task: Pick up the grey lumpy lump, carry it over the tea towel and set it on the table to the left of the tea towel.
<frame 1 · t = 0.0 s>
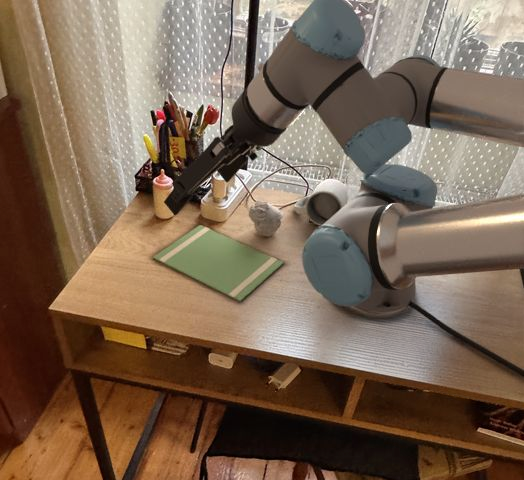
hand: (197, 191, 89), 15 cm above the table, tool tilted 35°, fingers open, 13 cm apart
ceramic mug: (318, 216, 115), on the table
tea towel: (218, 261, 102), on the table
grey lumpy lump: (264, 234, 109), on the table
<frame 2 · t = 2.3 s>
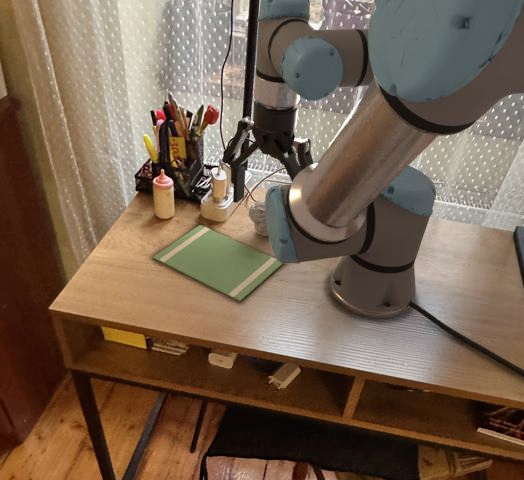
hand: (266, 212, 105), 5 cm above the table, tool pointing down, fingers open, 13 cm apart
nothing on the table moved.
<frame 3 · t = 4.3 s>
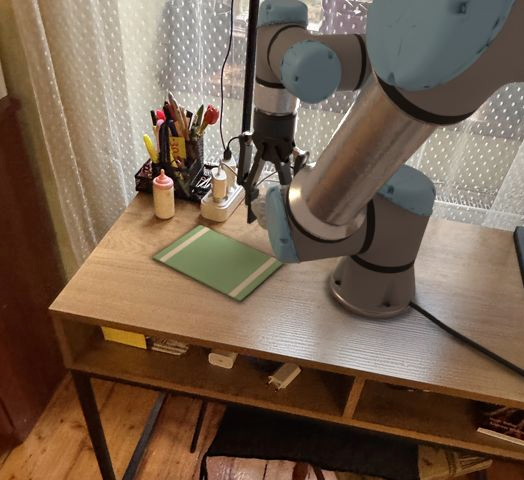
hand: (267, 226, 107), 2 cm above the table, tool pointing down, fingers closed on grey lumpy lump, 6 cm apart
grey lumpy lump: (267, 229, 107), point 2 cm above the table, touching gripper
everything else where it was.
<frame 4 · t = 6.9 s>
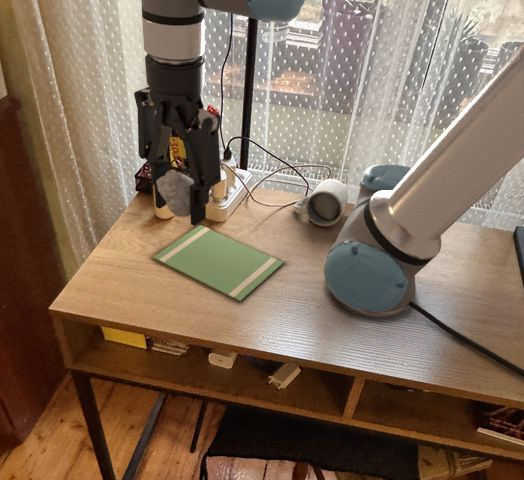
hand: (180, 212, 85), 15 cm above the table, tool pointing down, fingers closed on grey lumpy lump, 6 cm apart
grey lumpy lump: (181, 215, 86), point 14 cm above the table, touching gripper
everything else where it was.
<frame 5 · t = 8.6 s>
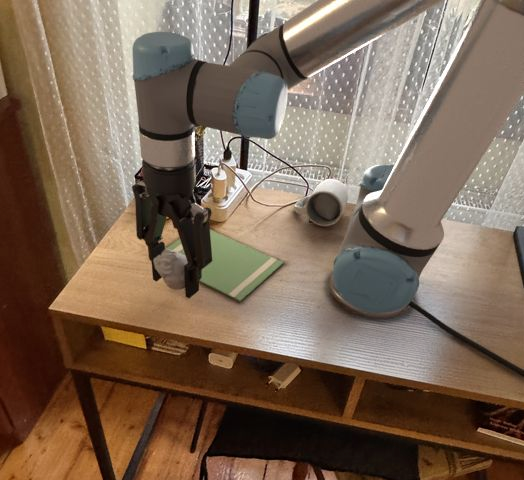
hand: (175, 284, 93), 2 cm above the table, tool pointing down, fingers closed on grey lumpy lump, 6 cm apart
grey lumpy lump: (176, 287, 93), point 1 cm above the table, touching gripper
everything else where it was.
when the fingers open (0 cm above the table, at t = 9.5 s): grey lumpy lump stays where it is, on the table.
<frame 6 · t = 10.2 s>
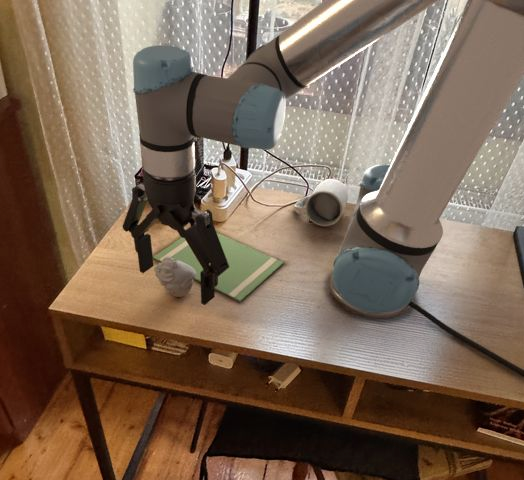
hand: (176, 284, 93), 2 cm above the table, tool pointing down, fingers open, 13 cm apart
grey lumpy lump: (177, 294, 95), on the table
everything else where it was.
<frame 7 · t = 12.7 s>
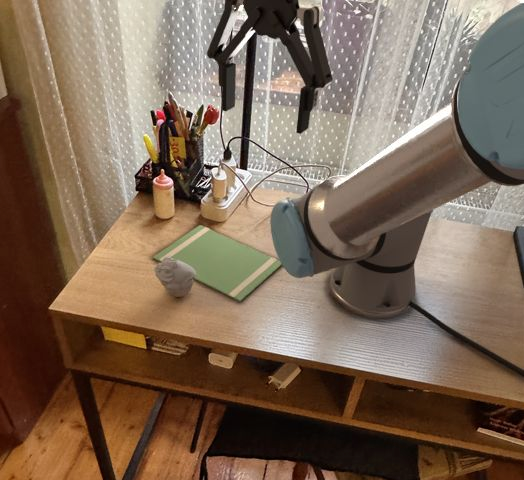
hand: (264, 119, 86), 26 cm above the table, tool pointing down, fingers open, 13 cm apart
nothing on the table moved.
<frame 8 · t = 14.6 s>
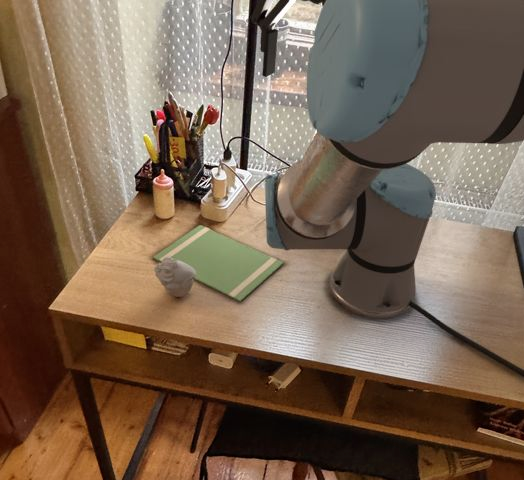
hand: (302, 85, 89), 29 cm above the table, tool pointing down, fingers open, 13 cm apart
nothing on the table moved.
at the end: grey lumpy lump inside the target area on the table beside the tea towel (0.2 cm from its centre), on the table; grey lumpy lump tilted 0°; the gripper is holding nothing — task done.
